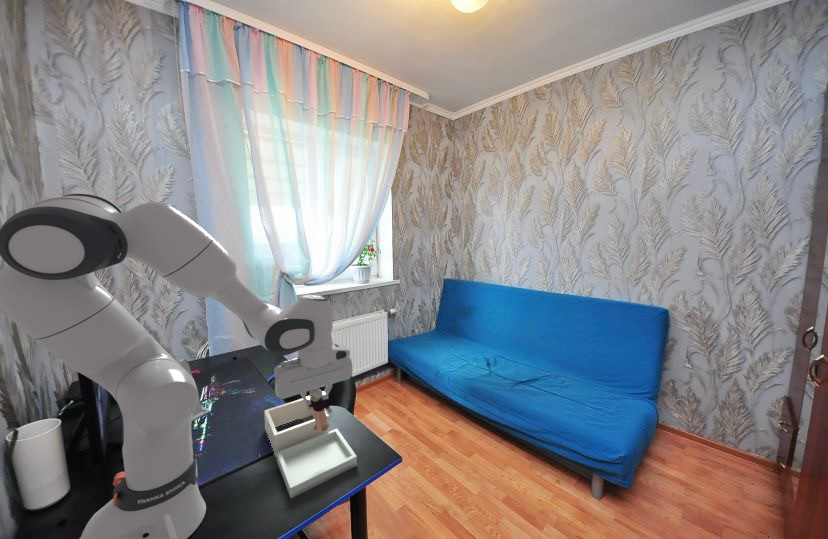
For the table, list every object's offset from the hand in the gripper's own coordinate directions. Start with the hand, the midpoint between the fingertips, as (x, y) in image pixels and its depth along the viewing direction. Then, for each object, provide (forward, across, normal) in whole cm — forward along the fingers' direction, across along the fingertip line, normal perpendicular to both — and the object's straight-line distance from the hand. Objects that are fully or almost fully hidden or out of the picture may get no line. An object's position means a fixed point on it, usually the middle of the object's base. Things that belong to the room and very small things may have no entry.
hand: (316, 401), depth 82 cm
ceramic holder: (+19, -1, +16) cm, 25 cm away
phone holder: (+20, -33, +44) cm, 58 cm away
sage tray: (+19, 0, 0) cm, 19 cm away
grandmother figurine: (+9, +2, 0) cm, 9 cm away
